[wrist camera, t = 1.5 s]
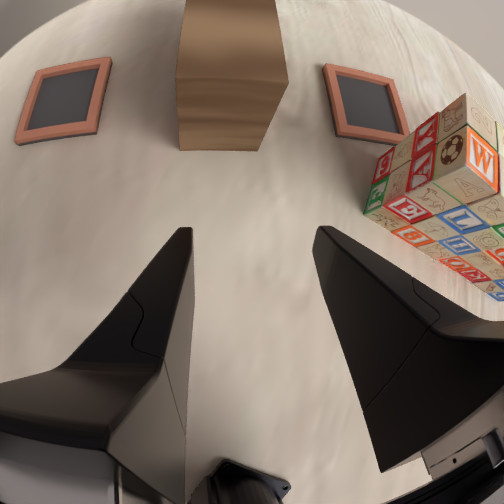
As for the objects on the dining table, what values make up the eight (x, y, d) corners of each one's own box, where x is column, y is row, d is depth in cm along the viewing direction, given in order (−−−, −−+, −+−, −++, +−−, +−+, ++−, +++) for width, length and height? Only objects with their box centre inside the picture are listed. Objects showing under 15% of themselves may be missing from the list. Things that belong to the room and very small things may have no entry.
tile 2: (406, 147, 26) (412, 143, 25) (335, 136, 25) (340, 131, 24) (388, 84, 27) (393, 79, 26) (322, 69, 26) (325, 63, 25)
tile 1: (96, 134, 21) (93, 128, 20) (19, 145, 20) (14, 140, 19) (112, 63, 22) (110, 56, 21) (40, 76, 21) (36, 70, 20)
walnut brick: (257, 151, 24) (288, 83, 15) (180, 151, 23) (175, 78, 14) (249, 35, 25) (268, -33, 17) (189, 32, 24) (193, -38, 16)
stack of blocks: (505, 253, 28) (584, 236, 16) (497, 302, 27) (582, 297, 15) (376, 157, 26) (466, 88, 14) (360, 216, 24) (468, 162, 12)
